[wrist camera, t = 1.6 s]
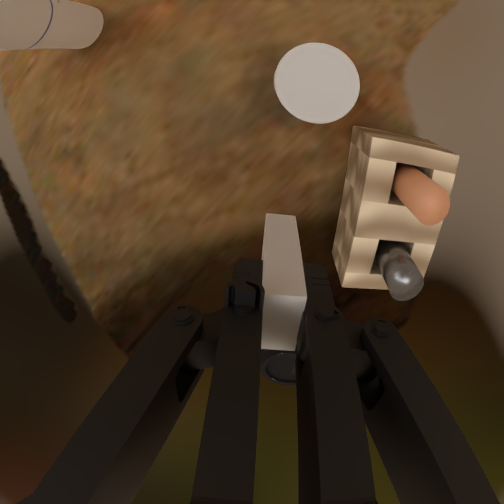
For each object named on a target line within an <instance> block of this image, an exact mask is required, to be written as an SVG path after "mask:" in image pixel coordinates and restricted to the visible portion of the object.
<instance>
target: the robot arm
mask: <svg viewBox="0 0 504 504" xmlns="http://www.w3.org/2000/svg"><path fill="white" fill-rule="evenodd" d="M296 344H297V355H296V359H295V363H294V367H293V371H292V374H295V373H296V399H297V430H298V431H297V432H298V504H378V503H377V501H376V497H375V490H374V481H373V473H372V466H371V459H370V452H369V446H368V439H367V433H366V427H365V424H366V426H367V428H368V430H369V432H370V435H371V437H372V439H373V441H374V444H375V446H376V448H377V450H378V452H379V455H380V457H381V460H382V462H383V464H384V466H385V469H386V471H387V473H388V476H389V478H390V480H391V483H392V485H393V487H394V490H395V492H396V494H397V497H398V499H399V501H400V503H401V504H500V503H499V501H498V499H497V497H496V495H495V493H494V491H493V489H492V487H491V485H490V483H489V481H488V479H487V477H486V475H485V473H484V471H483V469H482V467H481V466H480V464H479V462H478V460H477V458H476V456H475V454H474V453H473V451H472V449H471V447H470V445H469V443H468V442H467V440H466V439H465V436H464V435H463V433H462V431H461V429H460V428H459V426H458V424H457V423H456V421H455V419H454V417H453V416H452V414H451V412H450V411H449V409H448V407H447V406H446V404H445V403H444V401H443V399H442V398H441V396H440V394H439V393H438V391H437V389H436V388H435V386H434V385H433V384H432V382H431V380H430V378H429V377H428V375H427V374H426V372H425V371H424V369H423V367H422V366H421V365H420V363H419V362H418V360H417V358H416V357H415V355H414V354H413V353H412V351H411V349H410V348H409V346H408V345H407V343H406V342H405V340H404V339H403V337H402V336H401V335H400V333H399V332H398V330H397V329H396V327H395V326H394V325H393V324H392V323H391V322H389V321H387V320H385V319H381V318H371V319H368V320H367V321H366V322H365V323H364V325H360V324H357V323H353V322H351V321H348V320H346V319H344V318H343V315H342V313H341V311H340V310H339V309H338V308H336V307H335V305H334V300H333V296H332V292H331V287H330V283H329V280H328V275H327V271H326V270H325V269H324V268H323V267H322V265H321V264H313V263H302V256H301V249H300V243H299V236H298V230H297V223H296V217H295V216H291V215H280V214H269V213H266V220H265V230H264V241H263V251H262V260H256V259H245V258H240V259H239V260H238V261H237V262H236V263H235V265H234V270H233V276H232V281H231V282H230V283H228V284H227V286H226V287H225V306H224V307H223V308H222V309H220V310H218V311H215V312H211V313H204V314H202V312H201V311H200V310H199V309H198V308H196V307H194V306H192V305H185V304H184V305H177V306H174V307H172V308H170V309H169V310H168V311H167V312H166V313H165V314H164V315H163V316H162V318H161V319H160V320H159V322H158V323H157V324H156V325H155V327H154V328H153V329H152V331H151V332H150V333H149V334H148V336H147V337H146V338H145V340H144V341H143V342H142V344H141V345H140V346H139V347H138V349H137V350H136V351H135V353H134V354H133V355H132V357H131V358H130V359H129V361H128V362H127V363H126V365H125V366H124V367H123V368H122V370H121V371H120V373H119V374H118V375H117V377H116V378H115V379H114V381H113V382H112V383H111V385H110V386H109V387H108V388H107V390H106V391H105V392H104V394H103V395H102V397H101V398H100V399H99V401H98V402H97V403H96V405H95V406H94V408H93V409H92V410H91V411H90V413H89V414H88V416H87V417H86V418H85V420H84V421H83V422H82V424H81V426H80V427H79V428H78V429H77V431H76V432H75V433H74V435H73V436H72V438H71V439H70V441H69V442H68V443H67V445H66V446H65V447H64V449H63V450H62V452H61V453H60V455H59V456H58V457H57V459H56V460H55V462H54V463H53V465H52V466H51V467H50V469H49V470H48V472H47V473H46V475H45V476H44V478H43V479H42V481H41V482H40V483H39V485H38V486H37V488H36V489H35V491H34V492H33V493H32V494H31V495H29V496H28V497H26V498H24V499H23V500H21V501H20V502H18V503H16V504H131V502H132V501H133V499H134V497H135V495H136V494H137V492H138V490H139V488H140V486H141V485H142V483H143V481H144V479H145V478H146V476H147V474H148V472H149V470H150V469H151V467H152V465H153V463H154V461H155V460H156V458H157V456H158V454H159V452H160V451H161V449H162V447H163V445H164V443H165V442H166V440H167V438H168V436H169V434H170V433H171V431H172V429H173V427H174V425H175V424H176V421H177V420H178V418H179V416H180V414H181V413H182V411H183V409H184V407H185V405H186V404H187V402H188V400H189V398H190V396H191V394H192V392H193V391H194V389H195V387H196V385H197V383H198V382H199V380H200V378H201V376H202V374H203V372H204V370H205V368H211V367H214V368H213V374H212V380H211V385H210V391H209V396H208V402H207V408H206V414H205V419H204V425H203V431H202V437H201V443H200V449H199V456H198V461H197V467H196V473H195V480H194V486H193V492H192V498H191V502H190V504H253V492H254V476H255V459H256V441H257V422H258V403H259V384H260V363H261V349H271V350H286V351H295V348H296Z"/></svg>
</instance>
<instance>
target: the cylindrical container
mask: <svg viewBox="0 0 504 504" xmlns="http://www.w3.org/2000/svg"><path fill="white" fill-rule="evenodd" d="M103 24H104V18H103V15H102V12H101V11H100V10H99V9H98V8H96V7H93V6H90V5H86V4H82V3H78V2H74V1H70V0H0V51H3V50H17V49H83V48H86V47H88V46H90V45H91V44H92V43H94V42H95V41H96V39H97V38H98V37H99V35H100V33H101V31H102V28H103Z"/></svg>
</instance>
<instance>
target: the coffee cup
mask: <svg viewBox="0 0 504 504" xmlns="http://www.w3.org/2000/svg"><path fill="white" fill-rule="evenodd" d="M296 355H297V344H296V348H295V351H286V350H271V349H263V350H262V351H261V363H260V366H261V372H262V374H263V375H264V376H265V377H266V378H267V379H269V380H270V381H273V382H275V383H279V384H284V385H296V373H295V374H292V371H293V367H294V363H295V359H296Z"/></svg>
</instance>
